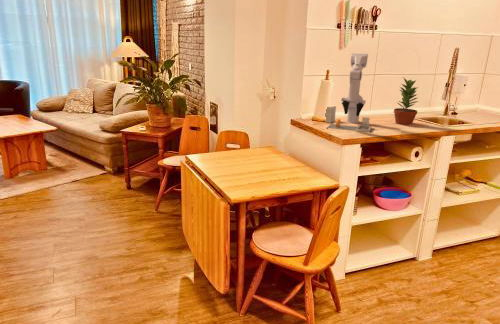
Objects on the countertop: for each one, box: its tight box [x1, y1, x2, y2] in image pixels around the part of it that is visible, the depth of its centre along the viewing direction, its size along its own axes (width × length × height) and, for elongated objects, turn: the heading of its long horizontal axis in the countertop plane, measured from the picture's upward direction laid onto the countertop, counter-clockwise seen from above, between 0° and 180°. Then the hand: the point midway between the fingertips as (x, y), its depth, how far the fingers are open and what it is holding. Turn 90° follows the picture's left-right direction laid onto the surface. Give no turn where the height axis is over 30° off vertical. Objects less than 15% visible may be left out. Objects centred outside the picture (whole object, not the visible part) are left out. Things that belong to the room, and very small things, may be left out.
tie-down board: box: [326, 123, 376, 133], centre depth 235 cm, size 12×27×1 cm, turn 67°
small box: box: [324, 104, 337, 124], centre depth 255 cm, size 8×6×10 cm
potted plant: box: [393, 77, 420, 126], centre depth 252 cm, size 15×15×30 cm
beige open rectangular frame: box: [354, 116, 373, 133], centre depth 231 cm, size 13×8×6 cm, turn 157°
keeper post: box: [335, 118, 341, 127], centre depth 237 cm, size 2×2×4 cm
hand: (351, 114), depth 227 cm, fingers open, 7 cm apart
